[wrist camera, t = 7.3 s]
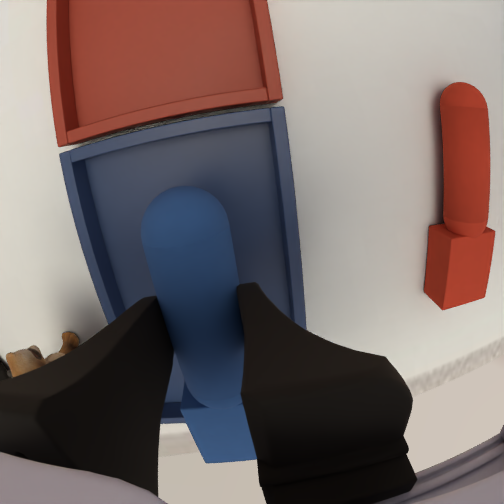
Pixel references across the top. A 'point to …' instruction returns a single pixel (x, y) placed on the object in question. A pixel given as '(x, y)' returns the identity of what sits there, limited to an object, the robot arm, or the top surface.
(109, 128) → the red tray
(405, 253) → the top surface
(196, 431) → the blue block-ended rod
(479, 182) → the red block-ended rod
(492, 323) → the top surface
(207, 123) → the blue tray
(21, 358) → the lion figurine
